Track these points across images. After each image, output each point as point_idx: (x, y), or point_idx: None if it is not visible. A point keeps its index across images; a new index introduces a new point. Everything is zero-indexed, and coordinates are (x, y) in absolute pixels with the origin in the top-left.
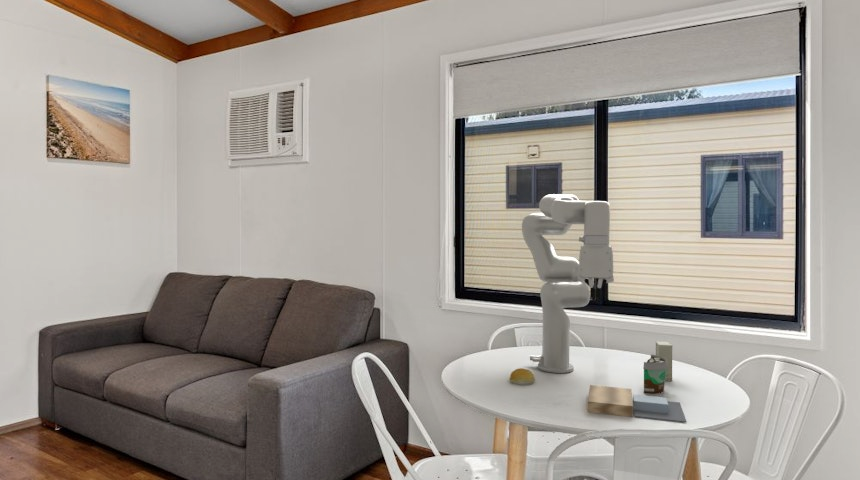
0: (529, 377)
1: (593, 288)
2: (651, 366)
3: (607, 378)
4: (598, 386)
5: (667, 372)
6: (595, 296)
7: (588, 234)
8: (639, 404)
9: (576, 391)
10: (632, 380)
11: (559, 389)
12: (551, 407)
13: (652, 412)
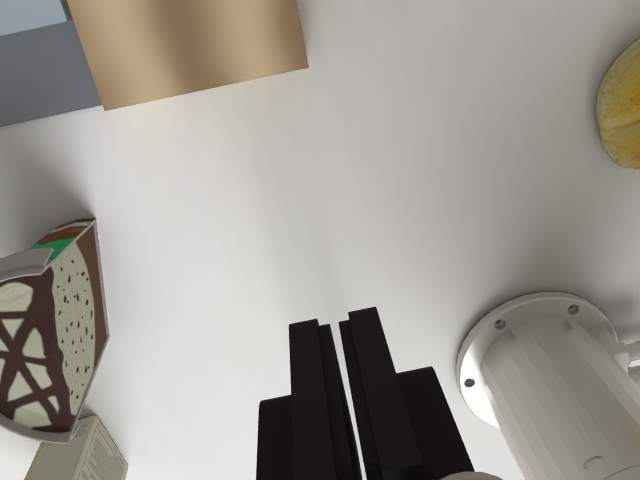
0: (631, 71)
1: (401, 462)
2: (5, 266)
3: None
4: (262, 63)
5: (52, 450)
6: (334, 360)
7: None
8: None
9: (376, 76)
10: (192, 365)
11: (458, 63)
12: None
13: None
